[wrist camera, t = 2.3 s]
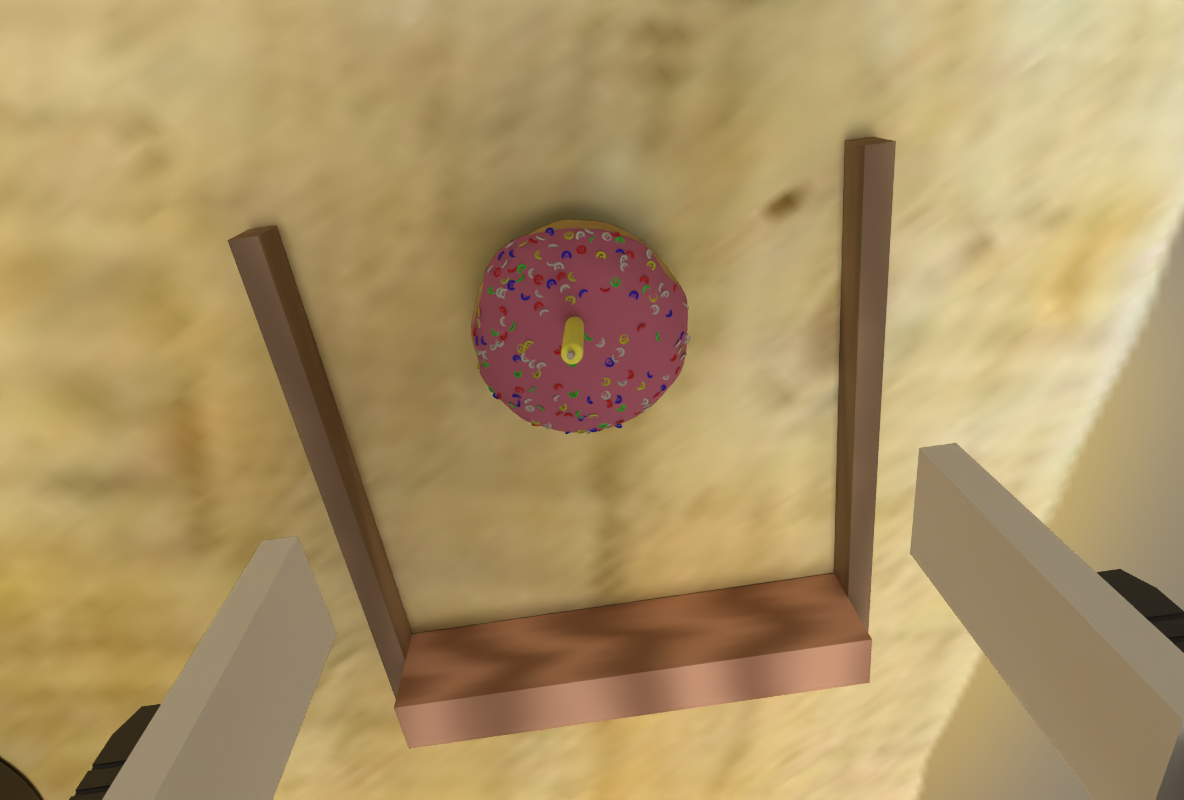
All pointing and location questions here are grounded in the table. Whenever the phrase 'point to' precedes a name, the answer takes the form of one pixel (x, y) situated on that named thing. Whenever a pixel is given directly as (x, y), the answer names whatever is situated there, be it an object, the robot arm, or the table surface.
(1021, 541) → the robot arm
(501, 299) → the cupcake
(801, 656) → the brown wooden open frame
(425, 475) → the table surface
